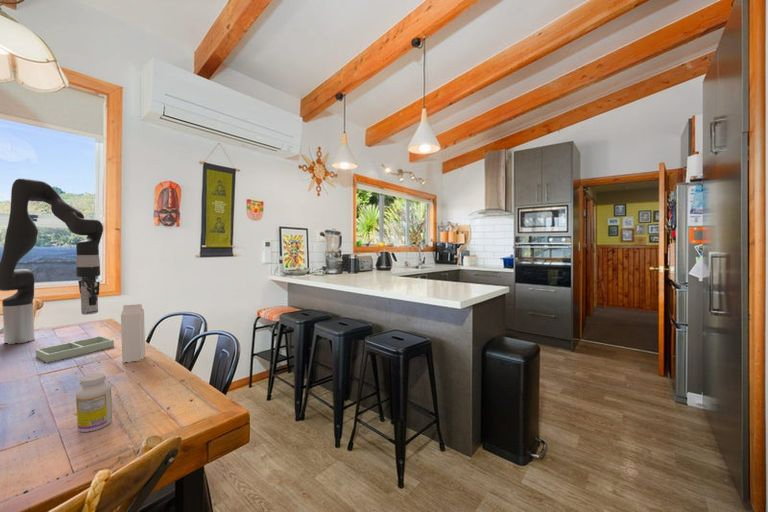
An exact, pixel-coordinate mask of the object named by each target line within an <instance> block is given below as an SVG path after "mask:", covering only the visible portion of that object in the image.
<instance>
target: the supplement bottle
mask: <svg viewBox="0 0 768 512" xmlns="http://www.w3.org/2000/svg"><path fill="white" fill-rule="evenodd" d="M105 381H106V374H105V373H102V372H101V373H100V372H99V373H93V374H88V375H86V376H84V377H82V378H80V385H81V387H80V388H79V389H78V390H77V391H76V393H75V401H76V404H75V405H76V420H77V421H76V422H77V425H76V426H77V430H78V431H79V432H82V433H89V431H90V432H95V431H98V430H101V429H103V428H105V427H106V426H108V425H109V424H110V423H111V422H112V421H113V406H112V405H113V404H112V386H111V384H110V383H109V382H105Z"/></svg>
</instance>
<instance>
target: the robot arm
mask: <svg viewBox="0 0 768 512" xmlns="http://www.w3.org/2000/svg"><path fill="white" fill-rule="evenodd" d="M10 193H11V194H10V211H9V218H8V224H7V227H6V231H5V232H6V233H5V237H4V246H3V251H2V255H1V259H0V292H1V291H2V292H5V291H7V292H8V291H9V292H10V291H16V292H15V293H14V294H12V295H11V296H8V297H6V298H3V299H2V302H1V304H2V305H1V306H2V307H1V308H2V320H3V341H4V342H3V343H8V344H7V345H16V344H15V343H18V344H24V343H28V341H29V342H32V341H34V340H35V339H36V338H35V319H34V317H35V316H34V315H35V314H34V298H35V275H34V272H33V271H32V270H31V269H27V268H22V269H21V268H19V269H16V267H17V265H18V264H19V262H20V261H21V259H23V258H24V257H25V256H26V255H27V254H29V252H30V251H32V249H33V248H34V247H35V246H36V244H37V239H38V235H39V234H38V233H39V228H37V225H36V223H35V222H34V220H33V219H32V218H31V216H30V214H29V210H28V209H29V203H30V202H40V203H41V202H43V203H46V204H48V205H49V206H50V209H51V213H52V214H53V215H54V217H56V218H57V219H59V220H60V221H62V222H63V223H64V224H65V225H66V227H67V228H68V229H69V231H70V232H71V233H72V234H74V235H77V236H86V239H83V240H81V241H77V243H76V246H75V247H76V250H75V251H76V257H75V258H76V259H75V264H76V265H75V268H76V271H75V272H76V277H78V278H81V279H78V289H79V294H80V295H81V286H82V287H86V292H88V295H89V305H96V296H97V295H98V296H100V285H101V284H100V281H97V280H96V277H99V276H100V275H101V259H100V254H99V253H100V251H99V250H100V249H99V245H100V242H101V239H102V235H103V233H104V226H103V224H102V222H101V221H100V220H98V219H94V218H93V219H92V218H85V216H84V214H83V212H81V211H80V210H78V209H77V208H75V206H73V205H71V204H69V203H68V202H67V201H66V200H65V199H64V198H63V197H62V195H60V194H59V193H58V192H57V191H56V189H54V188H53V187H52V186H51V185H50V184H49V183H47V182H46V181H42V180H34V179H29V178H17V179H15V180H14V181H13V183H12V185H11V192H10ZM89 288H91V289H89ZM96 290H97V291H96ZM93 291H94V293H93Z"/></svg>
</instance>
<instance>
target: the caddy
mask: <svg viewBox="0 0 768 512" xmlns="http://www.w3.org/2000/svg"><path fill="white" fill-rule="evenodd" d="M113 346H114V347H115V340H114V339H111V338H109V337H106V336H103V335H99V336H94V337H89V338H85V339H80V340H75V341H71V342H70V341H69V342H66V343H65V342H64V343H60V344H56V345H50V346H46V347H41V348H38V349H37V348H36V349H35V357H36V358H38V359H40V360H42V361H44V362H46V363H51V361H52V362H54V361H55V360H56V361H59V360H64V359H67V358H72V357H76V356H81V355H85V354H89V353H93V352H98V351H101V349H102V350H106V349H110V348H113ZM109 347H110V348H109ZM97 350H98V351H97Z"/></svg>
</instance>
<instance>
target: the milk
mask: <svg viewBox="0 0 768 512" xmlns="http://www.w3.org/2000/svg"><path fill="white" fill-rule="evenodd" d="M122 307H123V308H122V311H121V313H120V327H121V329H120V331H121V332H120V333H121V358H122V360H121V363H122V364H126V363H125V362H128V363H132V362H131V361H137V362H139V361H138V360H141V359H142V358H143V357H144V356H145V357H146V336H145V335H146V334H145V333H146V332H145V329H146V328H145V310H144V308H143V305H142V304H141V303H140V304H137V303H135V304H125V305H123V306H122ZM145 357H144V358H145ZM144 358H143V359H144ZM143 359H142V360H143ZM142 360H141V361H142Z"/></svg>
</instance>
